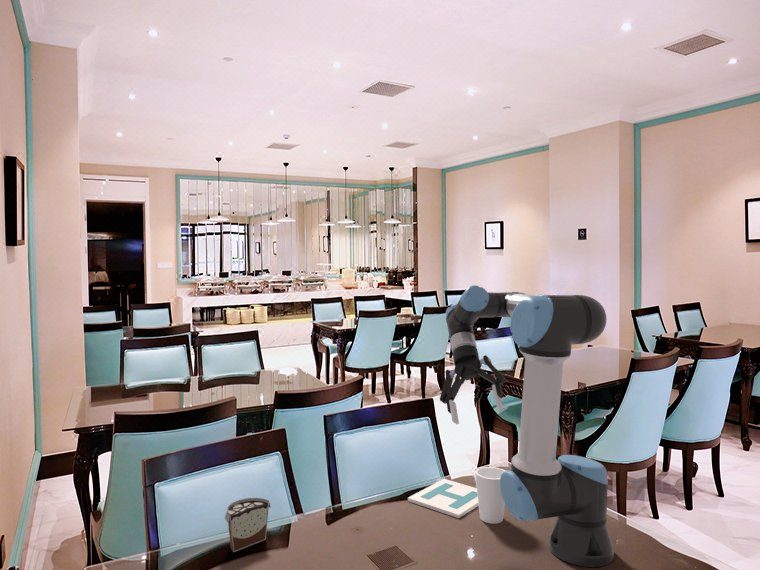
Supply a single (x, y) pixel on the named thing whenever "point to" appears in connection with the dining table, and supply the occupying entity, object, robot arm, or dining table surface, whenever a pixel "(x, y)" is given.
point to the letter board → (447, 498)
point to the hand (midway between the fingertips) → (477, 415)
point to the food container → (247, 522)
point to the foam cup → (490, 494)
